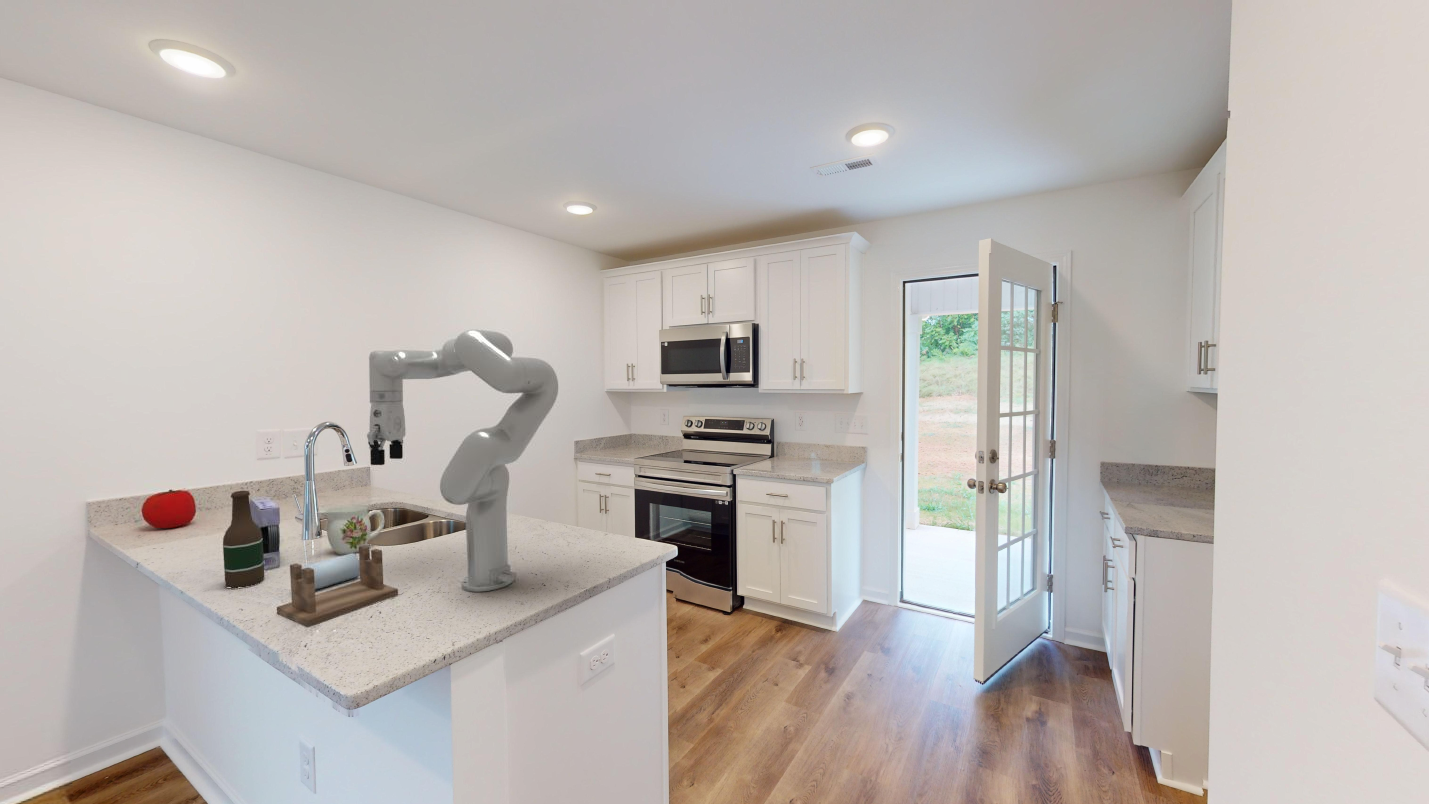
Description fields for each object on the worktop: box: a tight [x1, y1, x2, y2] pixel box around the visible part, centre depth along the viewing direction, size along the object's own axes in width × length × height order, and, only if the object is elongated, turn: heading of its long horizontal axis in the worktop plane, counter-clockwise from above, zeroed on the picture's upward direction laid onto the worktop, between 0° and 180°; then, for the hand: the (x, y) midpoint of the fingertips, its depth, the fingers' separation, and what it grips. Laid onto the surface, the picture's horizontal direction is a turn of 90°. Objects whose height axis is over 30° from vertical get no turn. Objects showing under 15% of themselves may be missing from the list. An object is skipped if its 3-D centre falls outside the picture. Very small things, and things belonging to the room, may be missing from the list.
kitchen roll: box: [302, 553, 360, 591], centre depth 138 cm, size 6×15×6 cm, turn 150°
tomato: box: [141, 488, 197, 529], centre depth 195 cm, size 16×14×14 cm
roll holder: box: [276, 545, 399, 628], centre depth 126 cm, size 14×19×11 cm
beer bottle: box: [222, 490, 265, 588], centre depth 139 cm, size 8×8×24 cm
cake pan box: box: [249, 496, 281, 571], centre depth 155 cm, size 19×5×18 cm, turn 47°
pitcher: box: [316, 504, 385, 556], centre depth 165 cm, size 11×18×14 cm, turn 146°
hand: (387, 461), depth 144 cm, fingers open, 9 cm apart
